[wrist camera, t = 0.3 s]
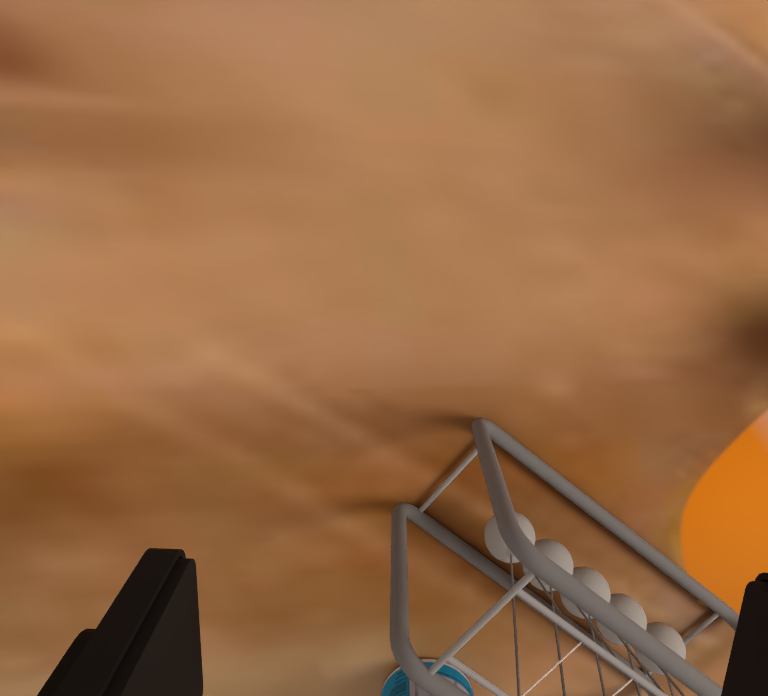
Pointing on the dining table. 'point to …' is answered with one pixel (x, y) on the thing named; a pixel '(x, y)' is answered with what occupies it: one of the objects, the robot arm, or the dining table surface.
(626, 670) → the newton's cradle
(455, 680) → the beverage bottle
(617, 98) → the dining table surface
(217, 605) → the dining table surface
